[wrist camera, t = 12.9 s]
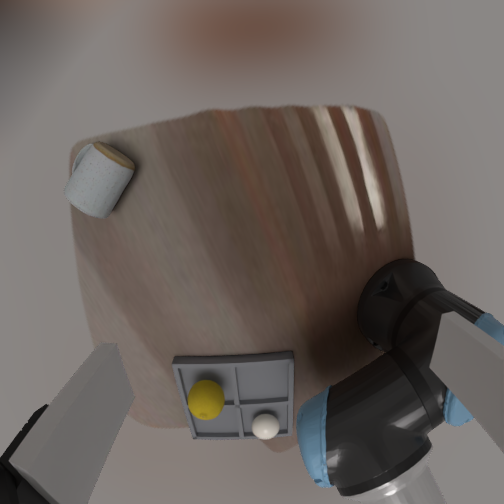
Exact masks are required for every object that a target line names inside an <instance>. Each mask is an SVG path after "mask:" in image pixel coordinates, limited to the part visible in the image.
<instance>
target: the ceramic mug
mask: <svg viewBox="0 0 504 504" xmlns="http://www.w3.org/2000/svg"><path fill="white" fill-rule="evenodd" d="M134 170H135V166H134V163H133V162H132V161H131V160H130V159H129V158H127V157H126V156H125V155H123V154H122V153H120V152H119V151H117V150H116V149H114V148H113V147H111V146H109V145H107V144H105V143H103V142H96V143H94V144H88V145H86V146H85V147H84V148H83V149H82V150H81V151H80V152H79V154H78V155H77V157H76V159H75V161H74V164H73V169H72V176H71V178H70V179H69V181H68V183H67V185H66V186H65V189H64V194H65V196H66V198H67V199H68V200H69V201H70V203H71V204H73V205H74V206H75V207H77V208H78V209H79V210H81V211H82V212H84V213H86V214H88V215H90V216H93V217H96V218H107V217H108V216H109V215H110V213H111V211H112V210H113V208H114V206H115V204H116V203H117V201H118V199H119V197H120V196H121V194H122V192H123V190H124V189H125V187H126V186H127V184H128V182H129V181H130V179H131V177H132V175H133V173H134Z"/></svg>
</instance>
